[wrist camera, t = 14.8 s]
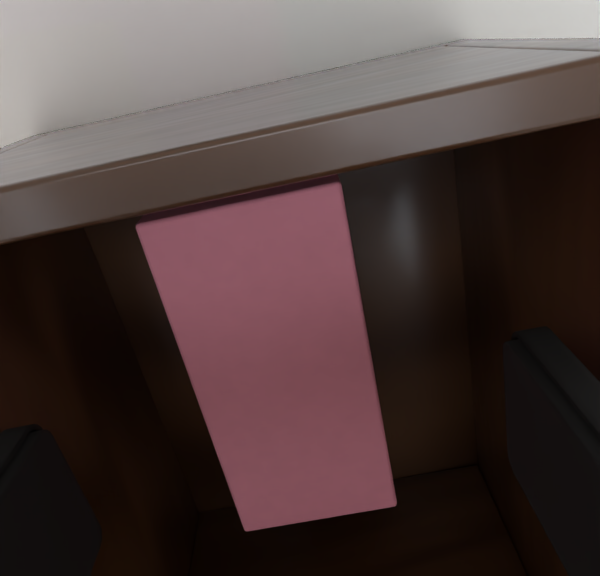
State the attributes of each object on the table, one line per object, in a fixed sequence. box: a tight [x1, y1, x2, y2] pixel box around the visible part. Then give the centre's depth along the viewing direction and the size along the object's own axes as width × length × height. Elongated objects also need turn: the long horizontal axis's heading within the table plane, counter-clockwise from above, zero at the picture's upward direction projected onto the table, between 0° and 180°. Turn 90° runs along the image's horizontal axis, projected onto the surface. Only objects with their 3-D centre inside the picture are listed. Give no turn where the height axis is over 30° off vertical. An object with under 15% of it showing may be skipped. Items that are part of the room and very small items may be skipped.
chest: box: [0, 38, 600, 576], centre depth 14 cm, size 16×13×9 cm
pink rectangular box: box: [136, 174, 397, 531], centre depth 14 cm, size 4×8×6 cm, turn 12°
